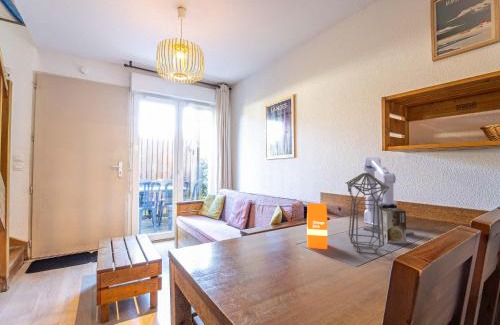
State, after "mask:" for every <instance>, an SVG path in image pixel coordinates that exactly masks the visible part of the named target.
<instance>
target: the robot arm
mask: <svg viewBox="0 0 500 325" xmlns="http://www.w3.org/2000/svg"><path fill="white" fill-rule="evenodd" d="M381 163H382V161H381V158H380V157H378V156H377V157H376V156H375V157H372V156H371V157H368V156H367V157H365V156H364V157H363V159H362V168H363V171H364V172H365V173H369V174H371V175H372V176H374V177H375V178H376V176H375V172H376V174H377V175H378V177H379V182H380V181H381V182H382V184H383V183H384V184H385V186H386V185H387V186H388V187H390V188H389V189H388V190H387V191H386V193H385V194H384V196H383V194H381V196H380V198H379V200H378V202H379V203H380V204H381V203H382V209H398V200H397V201H396V200H395V199H394V197H395V196H394V194H395V193H394V189H395V188H394V184H396V180H397V179H396V175H395V173H391V172H390V171H389V170H388V169H387V168H386V167H385V166H383V165H382V164H381ZM368 177H369V176H368ZM369 180H370V183H371V184H373V183H375V182H376V181H375V180H374V179H373V180H374V181H375V182H374V181H373V180H372V179H371V178H370V177H369ZM368 182H369V181H368ZM376 183H377V182H376ZM384 184H383V185H384ZM375 185H376V184H375ZM371 186H372V187H373V186H374V185H371ZM387 186H386V187H387ZM368 188H371V187H370V185H369V186H368ZM373 188H377V185H376V186H375V187H373ZM382 189H383V188H382ZM386 189H387V188H386ZM386 189H385V190H386ZM371 190H372V193H374V192H376V191H378V189H371ZM371 190H369V192H370V193H371ZM369 192H368V194H370V193H369ZM383 193H384V190H383ZM379 195H380V194H378V192H377V193H375V194H373V196H374V198H375V200H376V201H377V199H378V197H379ZM382 197H383V202H382ZM364 200H374V199H373V197H372V196H371V195H367V196H366V197H365V199H364ZM375 200H374V201H375ZM374 201H364V204H373V205H364V206H365V208H366V209H365V210H364V213H363V223H365V224H369V225H373V208H374ZM379 203H378V205H380V204H379ZM375 205H377V204H376V202H375ZM379 222H380V224H382V221H381V206H379ZM374 226H378V222H377V206H375V217H374Z"/></svg>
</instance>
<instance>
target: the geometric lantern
mask: <svg viewBox="0 0 500 325" xmlns="http://www.w3.org/2000/svg"><path fill="white" fill-rule="evenodd" d="M368 176H369V177H370V178H371V179H372V180H373V179H374V180H375V181H376V182H375V181H374V180H373V181H374V182H375V183H373V184H371V183H370V180H369V177H368ZM361 179H362V182H361V183H359V182H360V181H361ZM368 181H369V182H368ZM345 184H347V192H349V195H350V197H351V198H350V201H351V203H350V204H351V205H350V216H349V227H348V238H349V241H350V244H352V245H353V246H352V247H353V249H354V251H356V253H360V254H361V253H362V254H375V255H376V254H378V249H380V248H382V247H384V246H385V241H384V233H383V212H382V203H381V204H380V203H379V202H378V200H379V198H380V197H381V198H382V202H383V197H382V194H383V196H384V194H385V193H386V191H387V190H388V189H389V188H390V187H388V186H387V185H386V186H387V187H386V186H385V184H384V183H383V184H384V185H383V184H382V182H381V181H380V179H378V178H376V176H375V177H374V176H372V175H371V174H369V173H366V172H362V173H361V174H359V175H357V176H355V177H354V178H351V179H350V180H348V181H347V182H346V181H345ZM375 184H376V185H375ZM366 185H367V186H366ZM369 185H370V187H371V188H368V186H369ZM371 185H374V186H373V187H375V186H376V188H373V187H372V186H371ZM378 185H379V186H380V187H377V186H378ZM352 188H355V189H356V190H358V192H357V194H356V196H355V197H354V195H353V192H352ZM382 188H383V189H382ZM386 188H387V189H386ZM371 189H377V191H376V192H374V193H372V190H371ZM385 189H386V190H385ZM369 190H371V193H370V192H369ZM383 190H384V193H383ZM360 192H361V193H362V194H363V195H362V197H361V198H360V199H359V200H358V201H357V197H358V195H359V194H360ZM365 192H368V193H365ZM369 193H370V194H369ZM375 193H377V194H378V193H379V194H378V195H379V197H378V199H377V201H376V200H375V198H374V196H373V194H375ZM369 195H371V196H372V197H373V199H374V200H375V201H374V200H365V199H363V198H364V197H365V196H369ZM361 201H363V202H365V201H374V208H373V224H372V226H373V232H372V235H367V234H365V235H364V234H358V231H359V229H358V228H359V224H358V222H359V218H358V214H359V207H358V206H359V205H361V206H362V205H363V206H365V205H373V204H365V203H360V202H361ZM375 202H376V204H377V205H375ZM378 203H379V204H380V205H378ZM375 206H377V222H378V225H377V226H378V233H377V236H375V233H374V226H375V225H374V217H375ZM379 206H381V223H382V234H380V222H379ZM355 216H356V217H355ZM355 220H356V221H355ZM355 222H356V223H355ZM355 225H356V226H355ZM354 228H355V229H354ZM354 230H356V231H355V233H356V234H355V233H354ZM354 236H355V238H354ZM358 236H359V237H365V238H367V237H368V238H371V239H370V241H369V242H367V241H358V240H359V239H358V238H359V237H358ZM373 238H375V240H374V241H372V240H373ZM355 239H356V240H355ZM376 241H378V245H377V244H374V243H376ZM361 249H362V250H363V249H364V250H373V251H374V252H369V251H361Z"/></svg>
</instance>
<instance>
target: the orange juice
mask: <svg viewBox="0 0 500 325" xmlns="http://www.w3.org/2000/svg"><path fill="white" fill-rule="evenodd" d="M306 207H307V210H306V211H307V213H306V244H307V248H308V249H321V250H328V213H327V212H328V211H327V203H312V202H309V203H307V206H306Z"/></svg>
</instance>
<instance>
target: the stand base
mask: <svg viewBox="0 0 500 325" xmlns="http://www.w3.org/2000/svg"><path fill="white" fill-rule="evenodd" d="M363 230H365V231H367V232H371V233H373V225H372V226H366V227H363ZM374 234H378V225H374ZM409 234H410V235H414V234H415V232H414V231H412V230H409V229H406V236H408V235H409ZM380 235H382V224H380Z"/></svg>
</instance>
